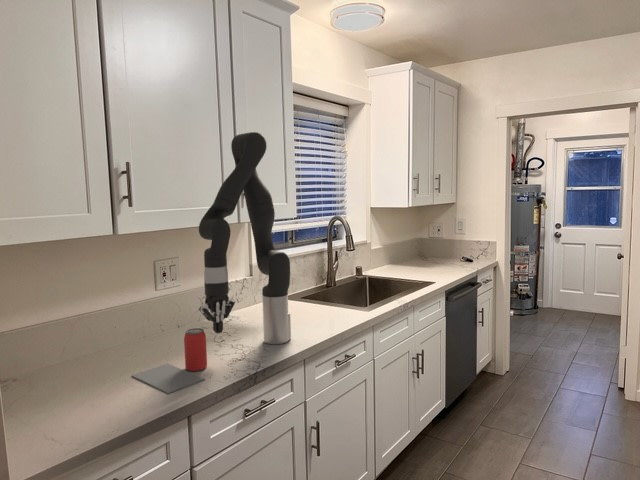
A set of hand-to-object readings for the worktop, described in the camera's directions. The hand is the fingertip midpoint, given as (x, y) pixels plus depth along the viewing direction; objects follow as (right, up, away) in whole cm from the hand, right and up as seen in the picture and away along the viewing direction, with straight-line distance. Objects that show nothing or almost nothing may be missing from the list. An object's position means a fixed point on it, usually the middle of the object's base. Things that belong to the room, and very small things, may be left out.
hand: (218, 332), depth 150 cm
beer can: (-6, -10, -6) cm, 13 cm away
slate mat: (-12, -11, -13) cm, 21 cm away
